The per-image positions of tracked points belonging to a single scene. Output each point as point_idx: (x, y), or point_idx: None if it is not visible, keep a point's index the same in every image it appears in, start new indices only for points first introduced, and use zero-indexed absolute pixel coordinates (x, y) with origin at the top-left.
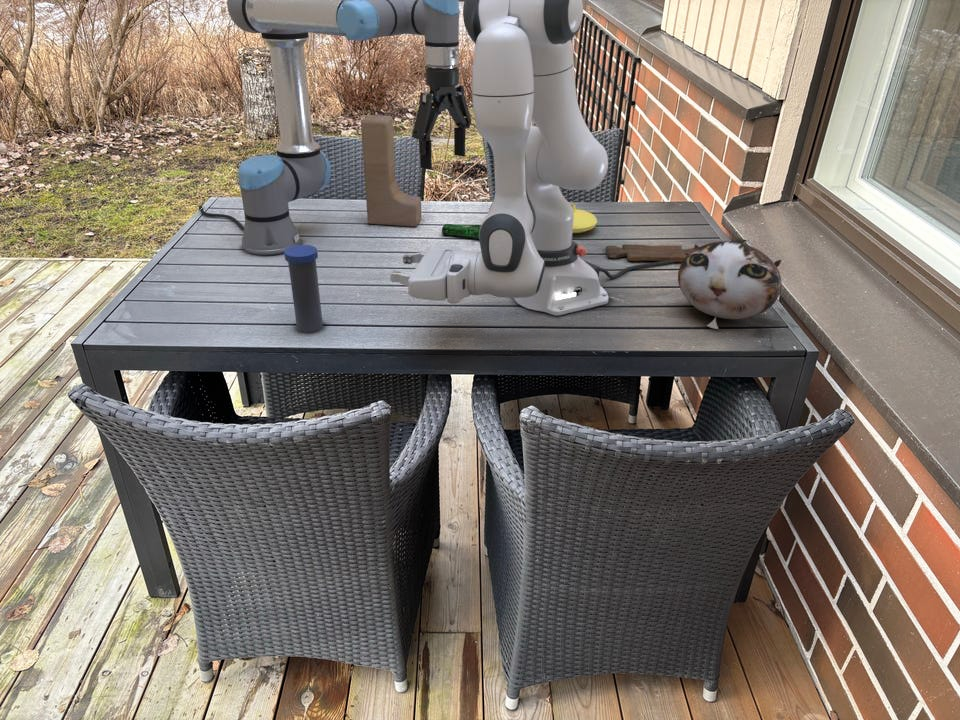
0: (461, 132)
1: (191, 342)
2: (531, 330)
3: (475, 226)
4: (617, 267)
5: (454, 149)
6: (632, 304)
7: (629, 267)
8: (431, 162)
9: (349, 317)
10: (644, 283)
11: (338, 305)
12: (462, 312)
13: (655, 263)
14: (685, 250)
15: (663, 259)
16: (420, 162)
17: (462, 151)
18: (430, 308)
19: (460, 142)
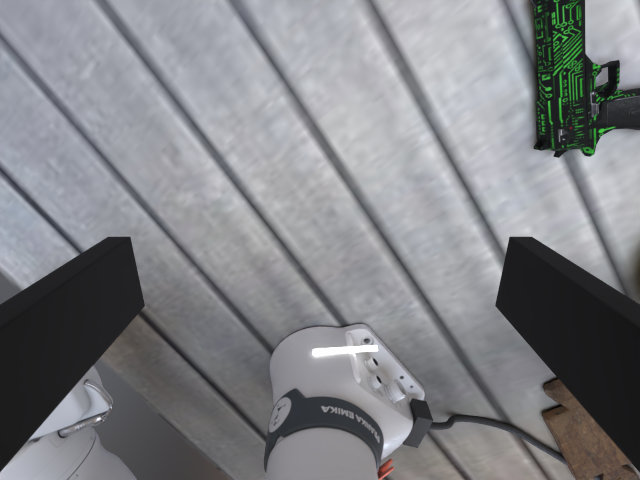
0: (625, 429)
1: None
2: (214, 398)
3: (593, 78)
4: (510, 405)
5: (531, 254)
6: (380, 462)
7: (504, 429)
8: (121, 329)
9: (8, 134)
10: (463, 452)
11: (19, 70)
12: (188, 294)
13: (542, 450)
14: (617, 471)
15: (564, 456)
16: (87, 251)
17: (514, 318)
18: (158, 241)
19: (558, 343)
